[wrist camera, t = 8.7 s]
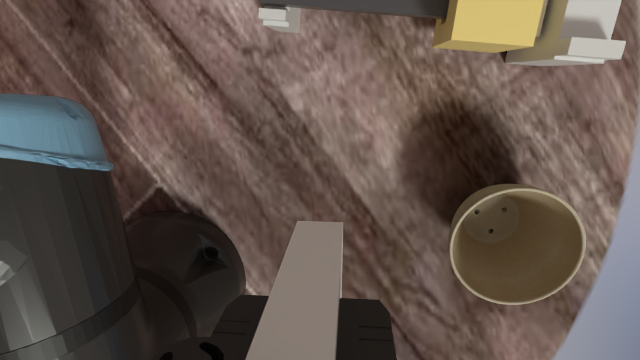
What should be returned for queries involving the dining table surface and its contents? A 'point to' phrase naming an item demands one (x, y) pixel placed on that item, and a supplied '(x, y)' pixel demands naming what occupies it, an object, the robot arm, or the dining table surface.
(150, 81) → the dining table surface
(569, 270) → the flower pot
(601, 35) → the linear slide mechanism
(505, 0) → the sleeve
